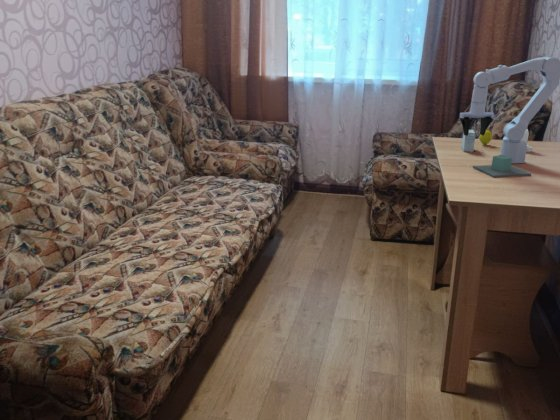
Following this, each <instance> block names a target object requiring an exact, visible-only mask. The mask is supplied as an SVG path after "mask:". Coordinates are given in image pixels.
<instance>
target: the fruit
mask: <svg viewBox="0 0 560 420" xmlns="http://www.w3.org/2000/svg"><path fill="white" fill-rule="evenodd" d="M492 134H493V133H492V131H490V130H489V129H488V128H487V129H486V132H485V134H484V135H481V134H480V133H479V138H478V139H479V142H480V143H481V144H482V145H484V146H487V144H489V143H490V142H491V141H492V138H493V135H492Z"/></svg>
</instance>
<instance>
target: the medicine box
mask: <svg viewBox="0 0 560 420" xmlns="http://www.w3.org/2000/svg"><path fill="white" fill-rule="evenodd" d="M476 136H477V135H476V132H475V130H473V129H469V133H468V136H466V135H464V132H462V139H461V149H462V150H463V151H462V152H467V153H474V149H475V141H476Z"/></svg>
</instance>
